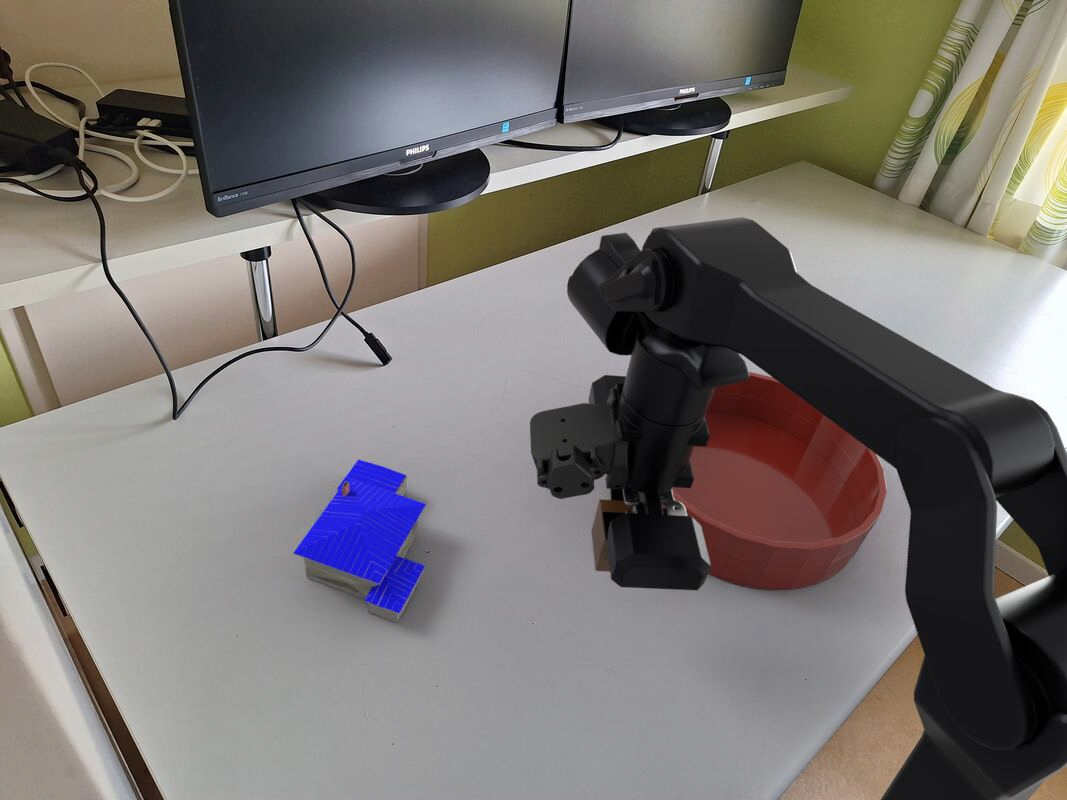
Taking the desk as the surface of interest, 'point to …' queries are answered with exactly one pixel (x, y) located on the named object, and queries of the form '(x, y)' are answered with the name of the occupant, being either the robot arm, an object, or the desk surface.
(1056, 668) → the robot arm
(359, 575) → the house
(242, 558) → the desk surface
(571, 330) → the desk surface
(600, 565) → the block
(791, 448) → the red round bowl
